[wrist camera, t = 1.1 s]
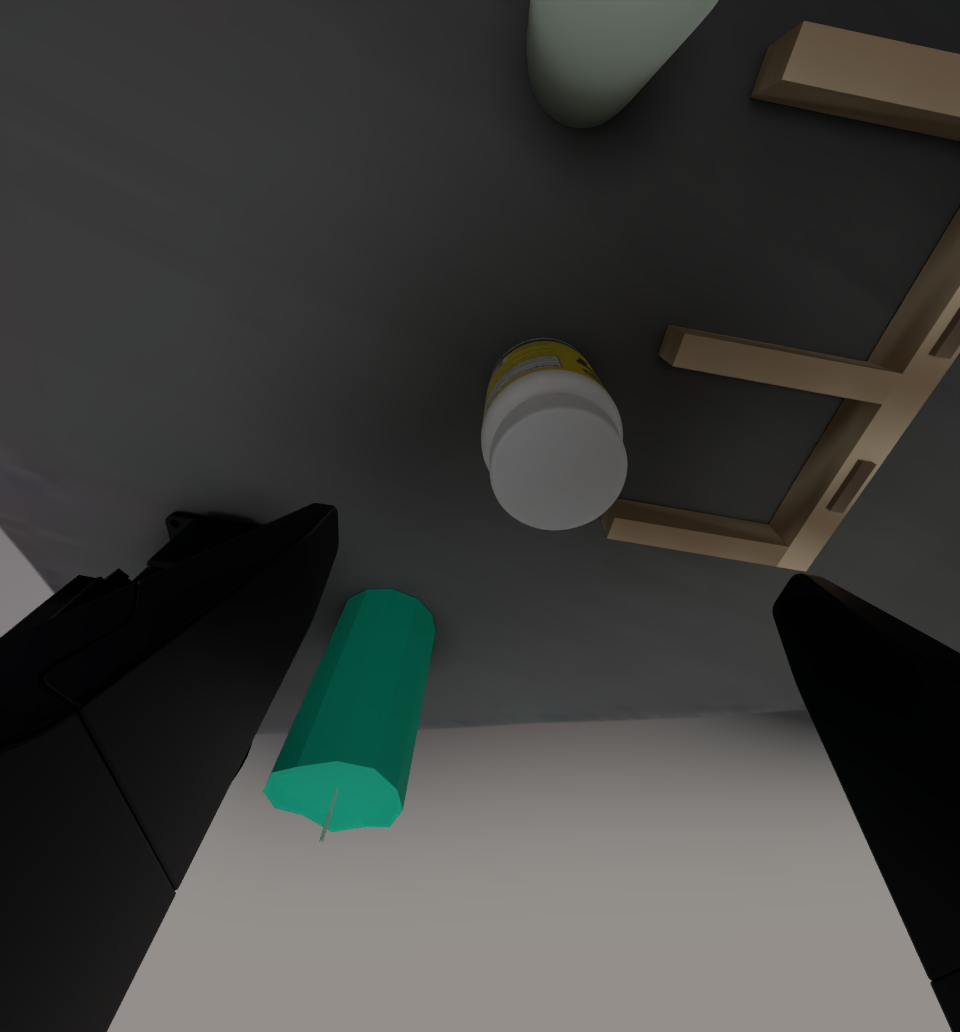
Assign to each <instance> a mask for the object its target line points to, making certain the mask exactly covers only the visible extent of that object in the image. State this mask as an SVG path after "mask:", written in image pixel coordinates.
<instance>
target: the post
mask: <svg viewBox="0 0 960 1032" xmlns="http://www.w3.org/2000/svg"><path fill="white" fill-rule="evenodd" d="M717 2H718V0H530V8H529V19H528V30H527V41H526V64H527V71H528V77H529V81H530V84H531V87H532V90H533V92H534V95H535V97H536V99H537V100H538V102H539V104H540V105H541V107H542V108H543V109H544V111H545V112H546V113H547V114H548V115H549V116H550V117H551V118H553V119H554V120H555V121H557V122H558V123H560V124H562V125H564V126H568V127H571V128H578V129H584V128H591V127H596V126H598V125H601V124H603V123H605V122H607V121H609V120H610V119H612V118H613V117H614V116H616V115H617V114H618V113H619V112H620V111H621V110H622V109H623V108H625V106H626V105H627V104H628V103H629V102H630V101H631V100H632V99H633V98H634V96H635V95H636V94H637V93H638V92H639V91H640V90H641V89H642V88H643V86H644V85H645V84H646V83H647V82H648V81H649V80H650V79H651V78H652V76H653V75H654V74H655V73H656V72H657V71H658V70H659V69H660V68H661V66H662V65H663V64H664V63H665V62H666V61H667V60H668V59H669V58H670V56H671V55H672V54H673V53H674V52H675V51H676V50H677V49H678V48H679V46H680V45H681V44H682V43H683V42H684V41H685V40H686V39H687V38H688V36H689V35H690V34H691V33H692V32H693V31H694V30H695V29H696V28H697V26H698V25H699V24H700V23H701V22H702V21H703V20H704V18H705V17H706V16H707V15H708V14H709V12H710V11H711V10H712V9H713V8H714V6H715V5H716V3H717Z"/></svg>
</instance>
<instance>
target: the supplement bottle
mask: <svg viewBox="0 0 960 1032" xmlns="http://www.w3.org/2000/svg"><path fill="white" fill-rule="evenodd" d="M481 447H482V454H483V457H484V461H485V463H486V466H487V468H488V470H489V472H490V481H491V485H492V489H493V491H494V494H495V496H496V498H497V500H498V502H499V503H500V505H501V506H502V507H503V508H504V509H505V510H506V511H507V512H508V513H509V514H510V515H511V516H512V517H514V518H515V519H516V520H518V521H520V522H522V523H524V524H526V525H528V526H531V527H534V528H538V529H544V530H565V529H571V528H576V527H578V526H582V525H584V524H587V523H589V522H591V521H593V520H594V519H596V518H598V517H599V516H600V515H602V514H603V513H604V512H605V511H606V510H607V509H608V508H609V507H610V506H611V505H612V504H613V503H614V502H615V500H616V499H617V498H618V496H619V494H620V492H621V490H622V488H623V486H624V483H625V479H626V475H627V455H626V450H625V447H624V444H623V429H622V422H621V418H620V415H619V412H618V409H617V407H616V405H615V403H614V401H613V400H612V398H611V396H610V395H609V393H608V392H607V390H606V389H605V387H604V386H603V384H602V383H601V382H600V380H599V378H598V377H597V375H596V374H595V372H594V371H593V369H592V368H591V366H590V365H589V363H588V362H587V360H586V359H585V358H584V357H583V355H582V354H581V353H580V352H579V351H578V350H576V349H575V348H574V347H573V346H571V345H569V344H567V343H565V342H563V341H560V340H557V339H552V338H536V339H531V340H527V341H524V342H522V343H520V344H518V345H516V346H514V347H513V348H511V349H510V350H509V351H508V352H506V353H505V354H504V355H503V356H502V358H501V359H500V360H499V361H498V363H497V364H496V366H495V367H494V369H493V371H492V374H491V376H490V379H489V383H488V388H487V395H486V402H485V409H484V417H483V424H482V430H481Z"/></svg>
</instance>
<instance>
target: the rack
mask: <svg viewBox="0 0 960 1032" xmlns="http://www.w3.org/2000/svg"><path fill="white" fill-rule="evenodd" d="M750 98H754V99H759V100H763V101H768V102H773V103H778V104H783V105H787V106H792V107H797V108H802V109H807V110H811V111H816V112H821V113H826V114H831V115H836V116H840V117H845V118H850V119H855V120H860V121H864V122H869V123H874V124H879V125H884V126H888V127H893V128H898V129H903V130H908V131H913V132H917V133H922V134H927V135H932V136H937V137H941V138H946V139H951V140H956V141H960V54H955V53H951V52H946V51H942V50H937V49H932V48H928V47H923V46H918V45H914V44H909V43H904V42H900V41H895V40H891V39H886V38H881V37H877V36H872V35H867V34H863V33H858V32H853V31H849V30H844V29H840V28H835V27H830V26H826V25H821V24H816V23H812V22H807V21H803V22H802V23H800V24H799V25H798V26H796V27H795V28H794V29H792V30H791V31H789V32H788V33H787V34H785V35H784V36H783V37H781V38H780V39H778V40H777V41H776V42H774V43H773V44H772V45H770V46H769V47H768V49H767V52H766V55H765V58H764V60H763V63H762V66H761V69H760V72H759V74H758V77H757V80H756V83H755V85H754V88H753V91H752V94H751V97H750ZM959 353H960V207H959V209H958V211H957V212H956V214H955V216H954V217H953V219H952V221H951V222H950V224H949V226H948V227H947V229H946V231H945V232H944V234H943V236H942V237H941V239H940V241H939V242H938V244H937V246H936V247H935V249H934V251H933V252H932V254H931V256H930V257H929V259H928V261H927V262H926V264H925V266H924V267H923V269H922V271H921V272H920V274H919V276H918V277H917V279H916V281H915V282H914V284H913V285H912V287H911V289H910V290H909V292H908V294H907V295H906V297H905V299H904V300H903V302H902V304H901V305H900V307H899V309H898V310H897V312H896V314H895V315H894V317H893V319H892V320H891V322H890V324H889V325H888V327H887V329H886V330H885V332H884V334H883V335H882V337H881V339H880V340H879V342H878V344H877V345H876V347H875V349H874V350H873V352H872V354H871V355H870V357H869V359H868V360H867V361H862V360H856V359H851V358H845V357H840V356H835V355H829V354H824V353H818V352H813V351H808V350H802V349H797V348H792V347H786V346H781V345H775V344H770V343H765V342H759V341H754V340H749V339H743V338H738V337H732V336H727V335H722V334H716V333H711V332H706V331H700V330H695V329H689V328H684V327H679V326H673V325H668V328H667V331H666V333H665V336H664V339H663V342H662V344H661V347H660V350H659V353H658V355H659V356H660V357H661V358H663V359H664V360H665V361H666V362H668V363H669V364H670V365H672V366H674V367H679V368H685V369H690V370H696V371H701V372H707V373H712V374H718V375H723V376H729V377H734V378H740V379H745V380H751V381H756V382H762V383H767V384H773V385H778V386H784V387H789V388H795V389H800V390H806V391H811V392H817V393H822V394H828V395H833V396H839V397H844V400H843V402H842V403H841V405H840V407H839V408H838V410H837V412H836V413H835V415H834V417H833V418H832V420H831V422H830V423H829V425H828V427H827V428H826V430H825V432H824V433H823V435H822V437H821V438H820V440H819V441H818V443H817V445H816V446H815V448H814V450H813V451H812V453H811V455H810V456H809V458H808V460H807V461H806V463H805V465H804V466H803V468H802V470H801V471H800V473H799V475H798V476H797V478H796V480H795V481H794V483H793V485H792V486H791V488H790V490H789V491H788V493H787V495H786V496H785V498H784V500H783V501H782V503H781V505H780V506H779V508H778V510H777V511H776V513H775V515H774V516H773V518H772V520H771V521H770V523H769V524H765V523H759V522H753V521H747V520H741V519H735V518H729V517H723V516H718V515H712V514H706V513H700V512H694V511H688V510H682V509H676V508H670V507H665V506H659V505H653V504H647V503H641V502H635V501H629V500H623V499H616V500H615V502H614V503H613V504H612V505H611V506H610V507H609V508H608V509H607V510H606V511H605V512H604V513H603V514H602V515H600V519H601V522H602V525H603V528H604V531H605V534H606V537H607V539H613V540H619V541H625V542H631V543H637V544H643V545H649V546H655V547H661V548H667V549H673V550H679V551H685V552H691V553H697V554H704V555H710V556H716V557H722V558H728V559H734V560H740V561H746V562H752V563H758V564H764V565H770V566H776V567H782V568H788V569H794V570H800V571H807V569H808V568H809V566H810V565H811V564H812V562H813V561H814V559H815V558H816V557H817V555H818V554H819V552H820V551H821V549H822V548H823V547H824V545H825V544H826V542H827V541H828V539H829V538H830V537H831V535H832V534H833V532H834V531H835V529H836V528H837V527H838V525H839V524H840V522H841V521H842V520H843V518H844V517H845V515H846V514H847V512H848V511H849V510H850V508H851V507H852V505H853V504H854V502H855V501H856V500H857V498H858V497H859V495H860V494H861V492H862V491H863V490H864V488H865V487H866V485H867V484H868V483H869V481H870V480H871V478H872V477H873V475H874V474H875V473H876V471H877V470H878V468H879V467H880V465H881V464H882V463H883V461H884V460H885V458H886V457H887V455H888V454H889V453H890V451H891V450H892V448H893V447H894V446H895V444H896V443H897V441H898V440H899V438H900V437H901V436H902V434H903V433H904V431H905V430H906V428H907V427H908V426H909V424H910V423H911V421H912V420H913V418H914V417H915V416H916V414H917V413H918V411H919V410H920V409H921V407H922V406H923V404H924V403H925V401H926V400H927V399H928V397H929V396H930V394H931V393H932V391H933V390H934V389H935V387H936V386H937V384H938V383H939V381H940V380H941V379H942V377H943V376H944V374H945V373H946V371H947V370H948V369H949V367H950V366H951V364H952V363H953V362H954V360H955V359H956V357H957V356H958V354H959Z"/></svg>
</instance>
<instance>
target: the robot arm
mask: <svg viewBox="0 0 960 1032" xmlns="http://www.w3.org/2000/svg"><path fill="white" fill-rule="evenodd" d="M176 521H178V522H179V523H178V522H176ZM166 526H167V530H168V534H169V538H170V541H169V542H168V543H167V544H166V545H165V546H164V547H163V548H162V549H160V550H159V551H158V552H157V553H156V554H155V555H154V556H153V557H152V558H150V559H149V560H148V561H147V566H148V567H147V568H146V569H145V570H143V571H142V572H141V573H140V574H139V575H138V576H137V577H136V578H135V579H134V580H132V581H131V580H130V579H128V577H129V576H128V575H127V574H126V573H124V572H123V571H122V570H120V569H119V568H118V569H117V570H116V571H114V572H113V573H111V574H110V575H109V576H107V577H106V578H104V579H103V578H102V577H97V578H93V577H87V576H82V575H78V576H77V577H76V578H74V579H73V580H72V581H70V582H69V583H68V584H67V585H65V586H64V587H63V588H62V589H60V590H59V591H58V592H56V593H55V594H54V595H53V596H51V597H50V598H49V599H48V600H46V601H45V602H44V603H43V604H41V605H40V606H39V607H37V608H36V609H35V610H34V611H32V612H31V613H30V614H29V615H28V616H26V617H25V618H24V619H23V620H21V621H20V622H19V623H18V624H16V625H15V626H14V627H13V628H12V629H10V630H9V631H8V632H7V633H5V634H4V635H3V636H2V637H0V1032H107V1030H108V1028H109V1026H110V1024H111V1022H112V1020H113V1018H114V1016H115V1014H116V1012H117V1010H118V1008H119V1006H120V1004H121V1002H122V1000H123V998H124V996H125V994H126V992H127V990H128V988H129V986H130V984H131V982H132V980H133V978H134V976H135V974H136V972H137V970H138V968H139V966H140V964H141V963H142V961H143V958H144V957H145V955H146V953H147V950H148V948H149V946H150V945H151V943H152V941H153V938H154V937H155V935H156V933H157V931H158V928H159V927H160V924H161V923H162V921H163V918H164V917H165V915H166V913H167V911H168V909H169V906H170V905H171V903H172V900H173V899H174V897H175V894H176V892H175V890H177V889H178V888H179V886H180V884H181V882H182V880H183V878H184V876H185V874H186V872H187V870H188V868H189V866H190V864H191V862H192V860H193V858H194V856H195V854H196V852H197V850H198V848H199V846H200V844H201V842H202V840H203V838H204V836H205V834H206V832H207V830H208V828H209V826H210V824H211V822H212V820H213V818H214V816H215V814H216V812H217V810H218V808H219V806H220V804H221V802H222V800H223V798H224V796H225V794H226V792H227V790H228V788H229V786H230V784H231V782H232V781H233V780H234V778H235V777H236V775H237V774H238V772H239V770H240V769H241V767H242V766H243V763H244V762H245V760H246V758H247V756H248V753H249V750H250V748H251V745H252V741H253V739H254V737H255V735H256V733H257V731H258V729H259V727H260V725H261V723H262V721H263V719H264V717H265V715H266V713H267V711H268V709H269V707H270V705H271V703H272V701H273V699H274V697H275V695H276V693H277V691H278V689H279V687H280V685H281V683H282V681H283V679H284V677H285V675H286V673H287V671H288V669H289V667H290V665H291V663H292V661H293V659H294V657H295V655H296V653H297V651H298V649H299V647H300V645H301V643H302V641H303V639H304V637H305V635H306V633H307V631H308V629H309V627H310V625H311V623H312V620H313V618H314V616H315V613H316V610H317V608H318V605H319V602H320V599H321V596H322V594H323V591H324V588H325V585H326V582H327V579H328V577H329V574H330V571H331V568H332V565H333V562H334V560H335V557H336V554H337V550H338V544H339V536H338V512H337V509H336V507H335V506H333V505H327V504H320V503H313V504H310V505H308V506H306V507H304V508H301V509H299V510H297V511H295V512H292V513H290V514H288V515H286V516H283V517H281V518H279V519H277V520H275V521H272V522H270V523H268V524H266V525H263V526H260V525H254V524H248V523H243V522H237V521H230V520H224V519H218V518H212V517H206V516H199V515H192V514H186V513H180V512H174V513H172V514H170V515H169V516H168V517H167V518H166ZM773 617H774V620H775V623H776V626H777V629H778V632H779V635H780V638H781V641H782V644H783V647H784V650H785V653H786V656H787V659H788V662H789V665H790V668H791V671H792V674H793V676H794V679H795V682H796V685H797V687H798V690H799V692H800V694H801V697H802V699H803V701H804V703H805V706H806V708H807V710H808V712H809V714H810V717H811V719H812V721H813V723H814V725H815V728H816V730H817V732H818V734H819V736H820V739H821V741H822V743H823V745H824V748H825V750H826V752H827V754H828V757H829V759H830V761H831V763H832V765H833V768H834V770H835V772H836V774H837V777H838V779H839V781H840V783H841V785H842V788H843V790H844V792H845V794H846V796H847V799H848V801H849V803H850V805H851V807H852V810H853V811H854V814H855V816H856V819H857V821H858V823H859V825H860V827H861V830H862V832H863V834H864V836H865V839H866V840H867V843H868V845H869V847H870V850H871V852H872V854H873V856H874V858H875V861H876V863H877V865H878V867H879V870H880V872H881V874H882V876H883V878H884V881H885V883H886V885H887V887H888V890H889V892H890V894H891V896H892V898H893V901H894V903H895V905H896V907H897V909H898V912H899V914H900V916H901V918H902V921H903V923H904V925H905V927H906V929H907V932H908V934H909V936H910V938H911V940H912V943H913V945H914V947H915V949H916V952H917V954H918V956H919V958H920V960H921V963H922V965H923V967H924V969H925V972H926V974H927V976H928V978H929V979H930V980H932V981H931V986H932V988H933V991H934V993H935V995H936V997H937V999H938V1002H939V1004H940V1006H941V1008H942V1011H943V1013H944V1015H945V1017H946V1019H947V1022H948V1024H949V1026H950V1028H951V1031H952V1032H960V653H959V652H957V651H955V650H953V649H952V648H950V647H948V646H946V645H944V644H942V643H941V642H939V641H937V640H935V639H933V638H932V637H930V636H928V635H926V634H924V633H922V632H921V631H919V630H917V629H915V628H913V627H912V626H910V625H908V624H906V623H904V622H903V621H901V620H899V619H897V618H895V617H893V616H892V615H890V614H888V613H886V612H884V611H883V610H881V609H879V608H877V607H875V606H873V605H872V604H870V603H868V602H866V601H864V600H863V599H861V598H859V597H857V596H855V595H853V594H852V593H850V592H848V591H846V590H844V589H843V588H841V587H839V586H837V585H835V584H833V583H832V582H830V581H828V580H826V579H824V578H822V577H820V576H816V575H809V574H802V573H799V574H796V575H794V576H793V577H791V579H790V580H789V581H788V583H787V585H786V586H785V588H784V589H783V591H782V592H781V594H780V595H779V597H778V598H777V600H776V601H775V603H774V606H773Z"/></svg>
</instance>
